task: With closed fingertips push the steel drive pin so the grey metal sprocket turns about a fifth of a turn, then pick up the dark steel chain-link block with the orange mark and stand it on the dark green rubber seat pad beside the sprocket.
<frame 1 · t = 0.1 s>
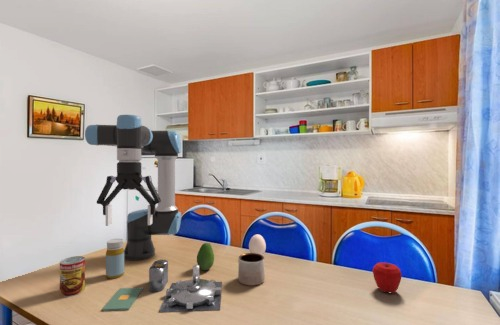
hand: (129, 224, 89), 28 cm above the table, fingers open, 13 cm apart
sprocket: (193, 283, 97), point 4 cm above the table, hinge at 0.0°
bearing plate: (193, 295, 97), on the table
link: (158, 285, 105), on the table
fruit: (205, 269, 120), on the table
planter: (251, 280, 109), on the table
apple: (386, 291, 101), on the table
seat mat: (123, 299, 94), on the table
canned food: (72, 292, 100), on the table
egg: (257, 257, 136), on the table
bottle: (115, 276, 113), on the table
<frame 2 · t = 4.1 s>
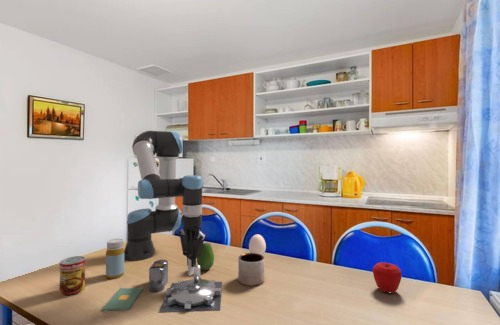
hand: (191, 274, 104), 5 cm above the table, fingers closed
sprocket: (193, 283, 97), point 4 cm above the table, hinge at 3.9°, touching gripper
everything else where it was.
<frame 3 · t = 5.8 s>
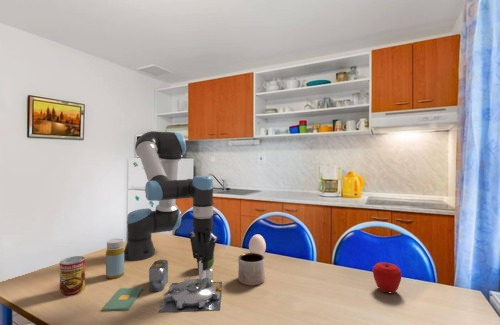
hand: (202, 277, 101), 5 cm above the table, fingers closed
sprocket: (193, 283, 97), point 4 cm above the table, hinge at 65.9°
everything else where it was.
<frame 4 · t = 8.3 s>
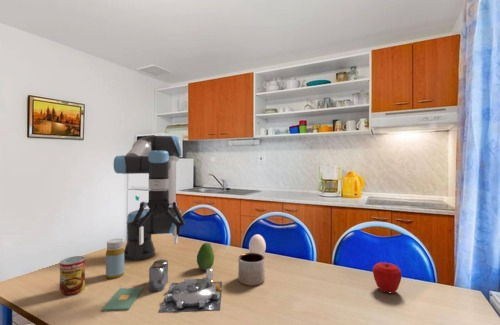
hand: (158, 243, 105), 17 cm above the table, fingers open, 13 cm apart
nothing on the table moved.
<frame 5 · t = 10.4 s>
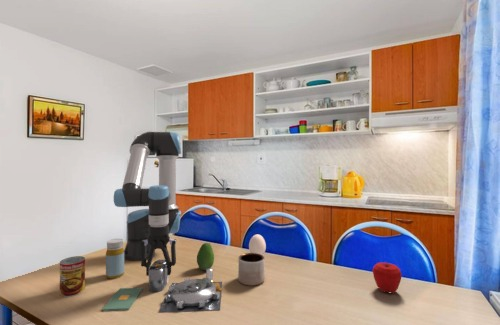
hand: (158, 283, 105), 1 cm above the table, fingers closed on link, 5 cm apart
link: (158, 285, 105), on the table, touching gripper
everything else where it was.
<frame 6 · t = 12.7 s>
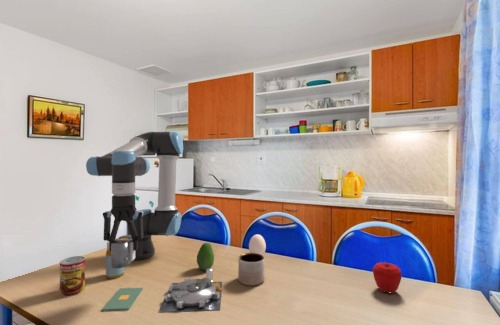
hand: (123, 259, 94), 14 cm above the table, fingers closed on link, 5 cm apart
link: (123, 261, 94), point 13 cm above the table, touching gripper
everything else where it was.
when the fingers open (3 cm above the table, at t = 15.0 s): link drops 1 cm, resting on seat mat.
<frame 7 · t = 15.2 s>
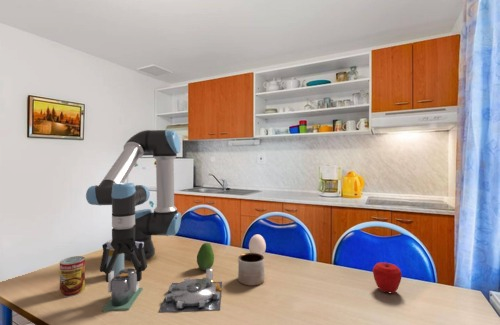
hand: (123, 290, 94), 3 cm above the table, fingers open, 8 cm apart
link: (123, 297, 94), point 1 cm above the table, touching seat mat
everything else where it was.
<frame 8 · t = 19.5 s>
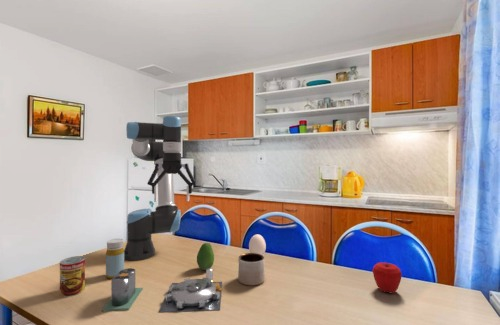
hand: (172, 201, 115), 32 cm above the table, fingers open, 13 cm apart
nothing on the table moved.
at the end: sprocket at +66° (first picture: +0°); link inside the target area on the seat mat (0.0 cm from its centre), point 0.7 cm above the seat mat's base; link tilted 0° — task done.
